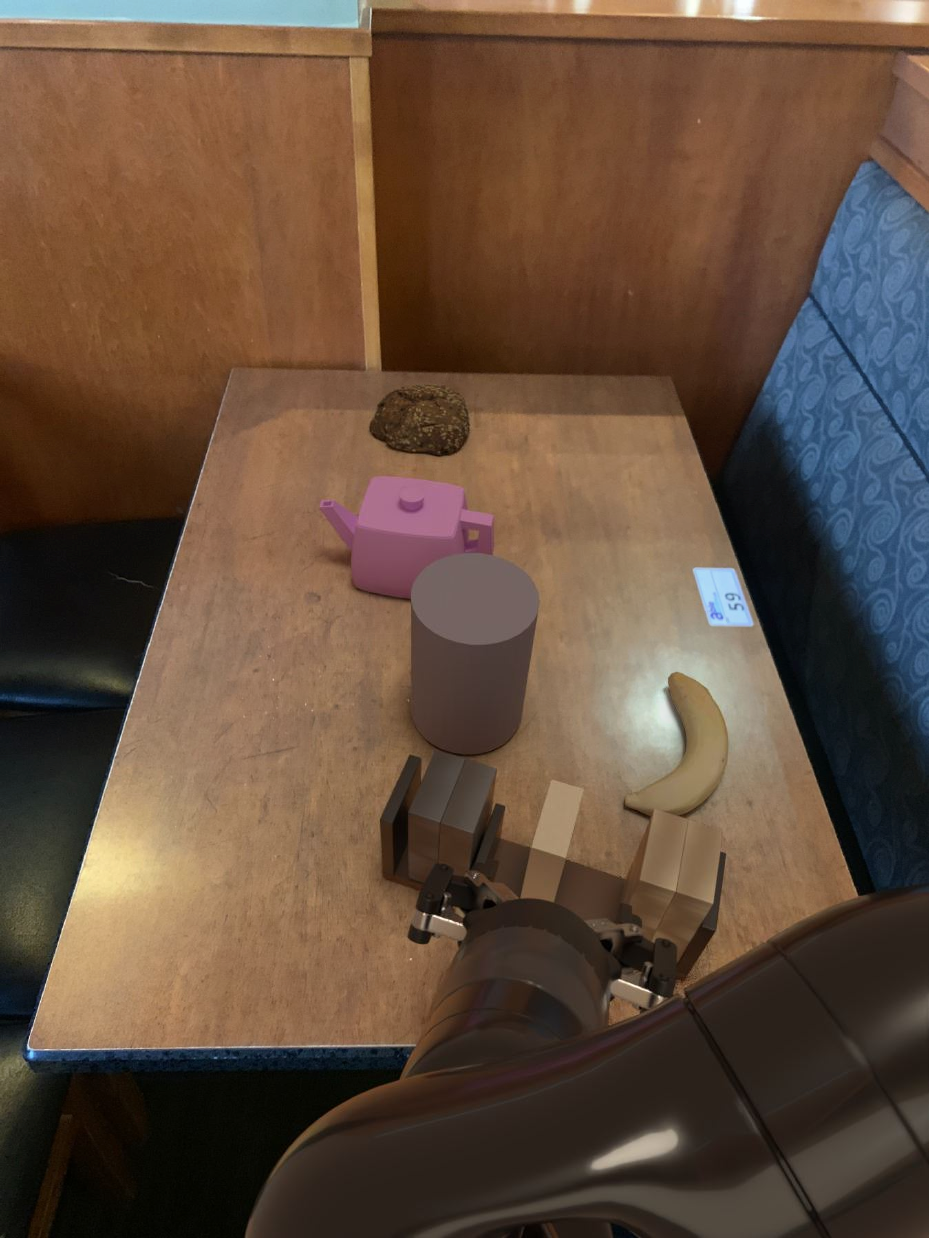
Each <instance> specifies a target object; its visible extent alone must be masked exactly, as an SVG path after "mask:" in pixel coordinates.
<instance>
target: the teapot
mask: <svg viewBox="0 0 929 1238" xmlns="http://www.w3.org/2000/svg"><path fill="white" fill-rule="evenodd" d="M467 502H468V501H467V496H466V492H465V488H463V487H462V486H460V485H456V484H451V483H447V482H442V481H436V480H435V481H434V480H427V479H421V478H414V477H413V478H412V477H401V476H383V475H382V476H373V477H372V478H371V479H370V481H369V483H368V486H367V489H366V491H365V494H364V497H363V500H362V503H361V505H360V509H359V511H358V515H357V514H355V513H353V512H352V511H350V510H349V509H347V507H344V506H343V505H342V504H340V503H339V502H337V501H336V499H323V500H321V501H320V504H319V507H318V509H319V511H320V512H321V514H323V516H324V517H325V518H326V520H327V521H328V522H329V524H330V525H331V526H332V528H333V529H334V530H335V532H336V534H337V535H338V536H339V537H340V539H341V540H342V541H343V542H344V544H345V546H346V547H347V549H349V551H350V552H351V556H350V557H351V558H350V570H351V571H350V572H351V573H350V574H351V578H352V581H353V584H354V585H355V587H356V588H357V589H359V590H361V591H364V592H370V593H374V594H378V595H382V596H383V595H384V596H388V597H394V598H401V599H408V600H411V590H412V587H413V584H414V581H415V580H416V578H417V577H418V575H419V574H420V573H421V572H422V571H423V570H424V569H425V568H426V567H427V566H429V565H430V564H432V563H433V562H435V561H437V560H439V559H442V558H444V557H447V556H451V555H455V554H462V553H482V554H488V555H493V556H494V550H495V530H494V529H495V528H494V527H495V522H494V519H495V517H494V514H491V513H487V512H480V511H475V510H469V509H468V508H469V507H468V503H467ZM470 531H478V534H477V535H478V537H477V538H476V539H471V540H469V539H470Z"/></svg>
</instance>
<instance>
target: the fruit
mask: <svg viewBox="0 0 929 1238" xmlns="http://www.w3.org/2000/svg"><path fill="white" fill-rule="evenodd" d="M667 686H668V689H669V692H670V697H671V699H672V702H673V704H674V706H675V709H676V711H677V713H678V715H679V717H680V719H681V722H682V725H683V727H684V731H685V737H686V738H685V739H686V748H685V753H684V756H683V758H682V759H681V760H680V763H679V764H677V766H676V767H675V768H674V770H672V771H671V772H670V773H668V774H667V775H665V776H663V777H662V778H660V779H657V780H655V781H654V782H652V783H649V784H648V785H647V786H645V787H643V788H641V789H640V790H638V791H636V792H632V793H626V794H625V796H624V805H625V807H627V808H629V809H632V810H635V811H638V812H640V813H642V814H644V815H646V816H648V817H651V815H652V813H653V810H654V809H657V810H660V811H663V812H666V813H670V814H673V815H676V816H679V817H680V816H681V815H684V814H686V813H689V812H691V811H692V810H694V809H695V808H697V807H698V806H700V805H701V804H702V803H703V802H705V801H706V800H707V799H708V798H709V797H710V796H711V794H712V793H714V791H715V789H716V788H717V786H718V785H719V783H720V782H721V780H722V778H723V775H724V773H725V771H726V769H727V765H728V759H729V747H730V746H729V735H728V728H727V723H726V721H725V717H724V715H723V713H722V711H721V708H720V707H719V705H718V703H717V702H716V701H715V699H714V697H713V696H712V694H711V692H710V690H709V689H708V687H706V686H705V685H703V684H702V683H701V682H700V681H697V680H696V679H695V678H693V677H691V676H688V675H687V674H684V673H682V672H680V671H674V672H671V673H670V674H669V676H668V677H667Z"/></svg>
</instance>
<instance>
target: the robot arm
mask: <svg viewBox="0 0 929 1238" xmlns="http://www.w3.org/2000/svg"><path fill="white" fill-rule="evenodd" d="M498 865H499V861H496V860H493V859H490V858H488V860H487V862H486V863H485V864H483V863H480V862H478V863H475V864H474V865H473V867H472V868H471V870H467V871H466V872H465V876H457V875H453V873H454V869H453V868H452V867H450V866H448V865H447V864H440V863H438V864H435V865H434V867H433V868H432V870H431V872H430V874H429V875H428V877H427V879H426V881H425V883H424V884H423V886H422V888H421V890H418V895H417V898H416V902H415V905H414V909H413V913H412V917H411V920H410V924H409V927H408V930H407V931H408V933H407V934H406V935H407V936H406V937H407V939H408V940H409V941H411V942H412V943H415V944H416V945H417V944H418V945H428V944H429V943H430V941H431V939H432V937H433V938H434V939H440V938H441V936H442V937H444V938H447V939H450V940H453V941H456V943H457V948H458V949H457V951H456V952H455V955H454V957H453V958H452V960H451V963H450V964H449V966H448V967H447V970H446V972H445V973H444V976H443V978H442V979H441V981H440V983H439V985H438V987H437V989H436V992H435V994H434V995H433V998H432V1001H431V1003H430V1007H429V1011H428V1014H427V1018H426V1023H425V1026H424V1028H423V1031H422V1032H421V1035H420V1037H419V1039H418V1041H417V1043H416V1045H415V1047H414V1049H413V1050H412V1052H411V1054H410V1056H409V1058H408V1060H407V1061H406V1063H405V1065H404V1068H403V1070H402V1072H401V1075H400V1077H399V1079H398V1080H394V1081H391V1082H388V1083H385V1084H381V1085H379V1086H376V1087H373V1088H371V1089H368V1090H366V1091H364V1092H361V1093H359V1094H357V1095H354V1096H353V1097H351V1098H349V1099H347V1100H346V1101H344V1102H342V1103H340V1104H338V1105H337V1106H335V1107H333V1108H332V1109H331V1110H329V1111H327V1112H326V1113H325V1114H323V1115H322V1116H321V1117H319V1118H318V1119H317V1120H315V1121H314V1122H313V1123H312V1124H311V1125H309V1126H308V1127H307V1128H306V1129H305V1130H303V1132H302V1133H300V1134H299V1135H298V1137H297V1138H296V1139H294V1140H293V1142H292V1143H291V1144H290V1145H289V1146H288V1147H287V1149H285V1151H284V1152H283V1154H282V1155H281V1156H280V1157H279V1159H278V1160H277V1161H276V1163H275V1164H274V1166H273V1168H272V1170H271V1171H270V1173H269V1174H268V1176H267V1178H266V1179H265V1181H264V1182H263V1185H262V1186H261V1188H260V1189H259V1192H258V1194H257V1196H256V1199H255V1201H254V1205H253V1207H252V1210H251V1212H250V1215H249V1218H248V1221H247V1223H246V1227H245V1234H244V1238H615V1237H614V1231H613V1228H612V1224H614V1225H617V1226H619V1227H622V1228H624V1229H626V1230H627V1231H629V1232H630V1233H632V1234H633V1235H635V1236H636V1237H638V1238H929V882H926V883H920V884H912V885H904V886H899V887H893V888H888V889H883V890H880V891H875V892H871V893H866V894H862V895H858V896H856V897H853V898H851V899H848V900H845V901H842V902H839V903H836V904H833V905H830V906H828V907H826V908H824V909H822V910H820V911H817V912H815V913H813V914H812V915H809V916H808V917H807V916H806V917H805V918H803V919H801V920H799V921H797V922H795V923H794V924H792V925H790V926H788V927H787V928H785V929H783V930H782V931H780V932H778V933H777V934H774V935H773V936H771V937H769V938H768V939H767V940H766V941H763V942H761V943H759V944H757V945H756V946H754V947H753V948H750V949H749V950H747V951H746V952H744V953H742V954H740V955H739V956H738V957H737V956H736V958H734V959H732V960H731V961H729V962H727V963H726V964H723V965H721V966H720V967H718V968H717V969H715V970H714V971H711V972H709V973H708V974H706V975H704V976H703V977H701V978H699V979H698V980H696V981H695V982H693V983H691V984H690V985H688V986H686V987H684V988H683V991H682V992H683V995H684V997H683V995H681V993H678V992H677V993H674V992H675V988H676V984H677V979H676V977H677V946H676V945H675V944H674V943H673V942H671V941H670V940H668V939H665V938H656V940H655V943H653V942H651V941H649V940H647V939H646V938H645V937H644V934H645V931H644V930H643V929H642V919H641V918H640V917H639V916H637V915H634V914H632V906H631V905H628V904H625V903H622V902H621V903H620V906H619V910H618V914H617V917H616V921H615V923H613V922H611V921H610V920H608V919H607V918H599V919H591V920H583V919H581V918H580V917H579V916H578V915H576V914H575V913H574V912H572V911H571V910H569V909H567V908H565V907H563V906H561V905H559V904H557V903H554V902H551V901H547V900H543V899H536V898H521V899H519V898H518V897H517V896H516V895H515V894H514V893H513V892H512V891H511V890H510V889H509V888H508V887H507V886H506V885H505V884H503V883H494V880H495V876H496V872H497V869H498ZM615 998H617V999H620V1000H623V1001H625V1002H628V1003H630V1004H632V1005H631V1006H632V1008H633V1009H635V1010H637V1011H639V1013H638V1014H635V1015H634V1016H630V1017H627V1018H625V1019H622V1020H621V1021H618V1022H617V1021H616V1022H614V1023H612V1024H609V1023H610V1010H611V1009H610V1006H611V1002H612V1001H614V1000H615Z"/></svg>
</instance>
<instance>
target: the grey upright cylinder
mask: <svg viewBox="0 0 929 1238" xmlns="http://www.w3.org/2000/svg"><path fill="white" fill-rule="evenodd" d="M539 593H540V592H539V590H538V588H537V585H536V583H535V582H534V580H533V579H532V578H531V576H530V575H529V574H528V573H527V572H526V571H525V570H524V569H523V568H521V567H520V566H519V565H517V564H515V563H514V562H512V561H510V560H507V559H505V558H503V557H500V556H496V555H494V554H493V555H488V554H482V553H462V554H455V555H451V556H447V557H444V558H442V559H439V560H437V561H435V562H433V563H432V564H430V565H429V566H427V567H426V568H425V569H424V570H423V571H422V572H421V573H420V574H419V575H418V577H417V578H416V580H415V581H414V584H413V587H412V590H411V599H410V714H411V717H412V718H411V719H412V722H413V724H414V726H415V728H416V730H417V731H418V733H420V735H421V736H422V737H423V738H424V739H425V740H426V741H428V742H429V743H430V744H431V745H433V746H435V747H437V748H439V749H441V750H444V751H447V752H448V753H452V754H459V755H477V754H485V753H488V752H490V751H493V750H496V749H497V748H499V747H501V746H503V745H505V744H506V743H507V742H508V741H509V740H511V739H512V738H513V736H514V735H515V733H516V732H517V731H518V729H519V726H520V724H521V722H522V716H523V712H524V711H523V710H524V703H525V697H526V691H527V686H528V679H529V673H530V666H531V661H532V654H533V647H534V641H535V635H536V629H537V628H536V627H537V624H538V623H537V622H538V616H539V610H540V603H541V600H540V594H539Z"/></svg>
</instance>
